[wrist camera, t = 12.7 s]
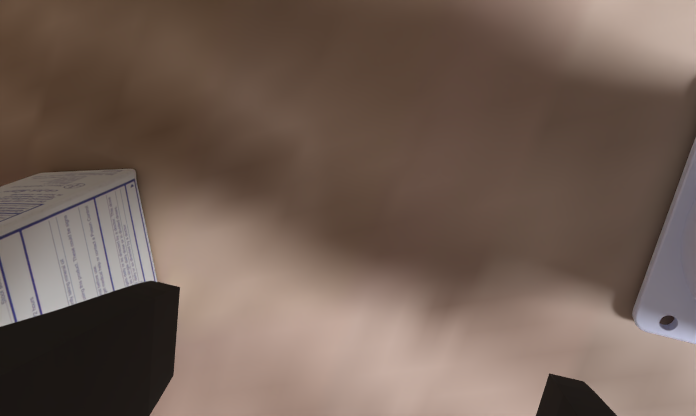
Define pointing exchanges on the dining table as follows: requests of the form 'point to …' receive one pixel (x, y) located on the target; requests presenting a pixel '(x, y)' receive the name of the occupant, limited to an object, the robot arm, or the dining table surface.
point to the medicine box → (70, 240)
